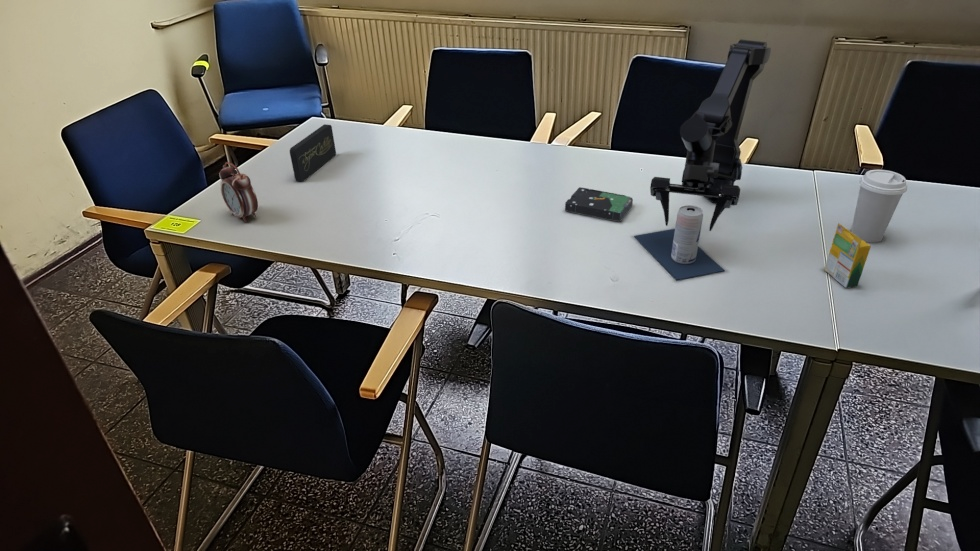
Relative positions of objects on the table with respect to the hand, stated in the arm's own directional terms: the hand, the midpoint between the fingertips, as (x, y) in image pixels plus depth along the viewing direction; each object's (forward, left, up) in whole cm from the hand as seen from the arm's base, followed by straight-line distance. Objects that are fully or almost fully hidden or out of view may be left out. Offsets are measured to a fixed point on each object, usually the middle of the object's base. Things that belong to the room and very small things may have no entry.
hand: (688, 227), depth 144 cm
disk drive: (+8, -28, -8) cm, 30 cm away
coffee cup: (-45, +5, -8) cm, 46 cm away
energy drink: (+1, +1, -7) cm, 8 cm away
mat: (0, -2, -8) cm, 8 cm away
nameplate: (+76, -80, -8) cm, 111 cm away
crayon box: (-27, +18, -8) cm, 33 cm away
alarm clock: (+96, -54, -8) cm, 111 cm away
